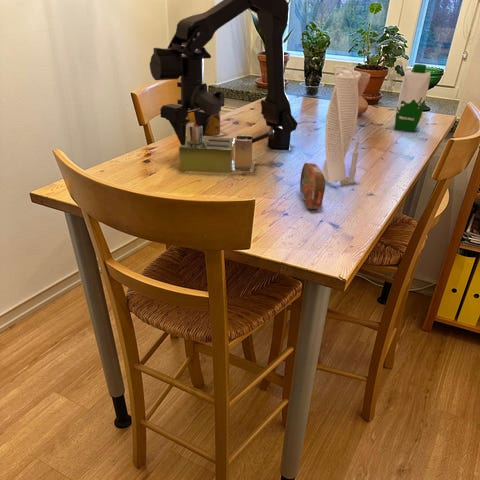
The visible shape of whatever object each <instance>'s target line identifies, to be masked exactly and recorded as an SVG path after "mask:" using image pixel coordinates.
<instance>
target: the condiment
mask: <svg viewBox="0 0 480 480" xmlns="http://www.w3.org/2000/svg"><path fill="white" fill-rule="evenodd" d="M214 94H215V93H214ZM214 94H213V95H214ZM221 136H226V134H225V133H223V132H221V111H219V114H216V115H214V116H213V117H212V118H211V119H210V120H209V122H208V125H207V128H206V131H205V134H204V137H215V138H216V137H221Z"/></svg>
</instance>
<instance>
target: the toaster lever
mask: <svg viewBox="0 0 480 480" xmlns="http://www.w3.org/2000/svg"><path fill="white" fill-rule="evenodd" d="M268 137H269V138H270V139H272V138H274V129H273V127H272V128H271V127H270V128H268V131H267V132H264V133H262V134H259V135H258V136H257V135H256V136H255V137H253V138H252V139H250V140H252V144H254V143H257V142H259V141H262V140H265V139H268ZM244 139H248V138H247V137H246V138H244Z"/></svg>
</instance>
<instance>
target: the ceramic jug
mask: <svg viewBox="0 0 480 480" xmlns="http://www.w3.org/2000/svg"><path fill="white" fill-rule="evenodd" d="M339 72H340V71H338V72H336V74H337V75H339ZM359 72H360V73H361V76H360V79H359V81H358V116H360V115H362V114H364V113H366V112H367V110H368V108H369V103H368V101H367V100H366V99H365V98H364V97H363V96H362V95H363V94H364V92H365V90H366V88H367V86H368V84H369V82H370V79H371V73H368V72H365V71H359ZM341 73H343V72H341ZM355 74H356V75H359V74H357V73H355Z"/></svg>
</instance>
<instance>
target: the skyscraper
mask: <svg viewBox="0 0 480 480" xmlns="http://www.w3.org/2000/svg"><path fill="white" fill-rule="evenodd" d="M332 68H333V74H334V82H335V83H334V87H333V90H332V93H331V97H330V101H329V104H328V109H327V114H326V121H325V135H324V142H325V143H324V145H325V148H324V149H325V161H324V164H323V166H322V169H321V170H320V171H321V172H322V174H323V175H324V178H325V181H327V182H328V183H329V184H330V183H337V182H339V185H340V187H344V186H351V185H356V181H355V178H356V172H357V164H358V163H357V162H358V157H359V151H358V150H359V144H360V141H359V140H360V133H358V134H357V139H356V141H355V147H354V151H352V155H351V156H352V157H351V162H350V167H349V171H348V176H347V171H346V169H347V168H346V161H345V160H346V157H347V154H348V152H349V149H350V147H351V144H352V141H353V138H354V135H355V132H356V128H357V122H358V116H359V115H358V81H359V79H360V76H361V73H360V72H361V71H358V70H354V69H353V68H351V67H349V66H346V65H343V64H335V65H334V66H332ZM337 68H341V69H340V70H339V71H338V72H339V75H337ZM341 72H343V73H341ZM355 73H357V74H359V75H356V74H355Z"/></svg>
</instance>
